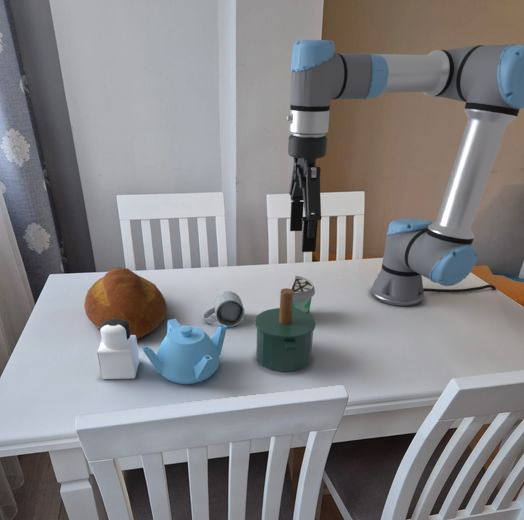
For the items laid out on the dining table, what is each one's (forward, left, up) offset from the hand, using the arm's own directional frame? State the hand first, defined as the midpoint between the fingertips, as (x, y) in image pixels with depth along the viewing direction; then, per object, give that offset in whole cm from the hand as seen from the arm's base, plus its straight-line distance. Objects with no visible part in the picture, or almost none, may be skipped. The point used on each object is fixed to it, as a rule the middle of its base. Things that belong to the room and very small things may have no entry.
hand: (301, 240), depth 103 cm
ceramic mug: (+17, -14, -27) cm, 35 cm away
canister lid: (+4, +6, -17) cm, 19 cm away
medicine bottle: (+41, +8, -27) cm, 49 cm away
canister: (+4, +6, -27) cm, 28 cm away
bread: (+43, -19, -27) cm, 54 cm away
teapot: (+26, +9, -27) cm, 38 cm away
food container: (-4, -14, -27) cm, 31 cm away
